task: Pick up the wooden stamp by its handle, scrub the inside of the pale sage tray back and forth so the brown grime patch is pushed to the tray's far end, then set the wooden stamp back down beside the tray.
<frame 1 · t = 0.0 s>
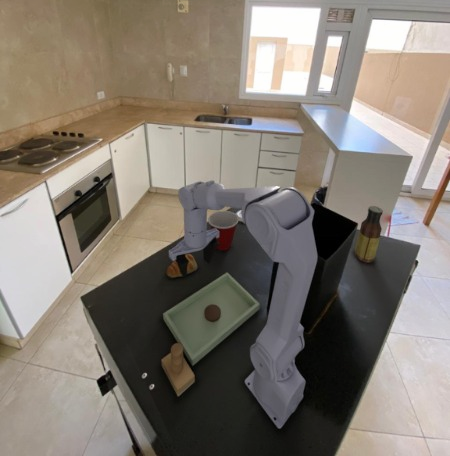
hand: (195, 267, 69), 10 cm above the table, tool pointing down, fingers open, 7 cm apart
tray: (212, 315, 67), on the table
grime patch: (212, 313, 67), resting on tray
sauce bottle: (362, 257, 89), on the table
wooden stamp: (177, 374, 54), on the table
plastic cup: (222, 245, 92), on the table
pastry: (183, 270, 81), on the table
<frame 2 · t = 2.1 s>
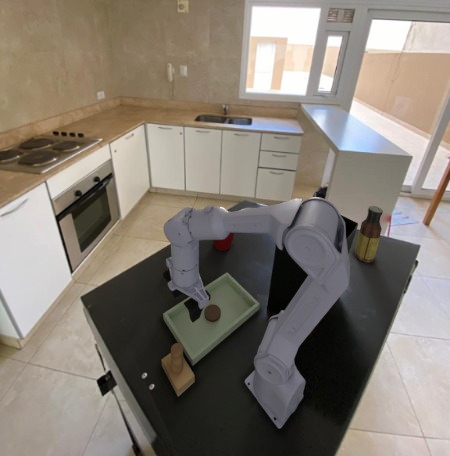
hand: (186, 306, 59), 10 cm above the table, tool pointing down, fingers open, 7 cm apart
nothing on the table moved.
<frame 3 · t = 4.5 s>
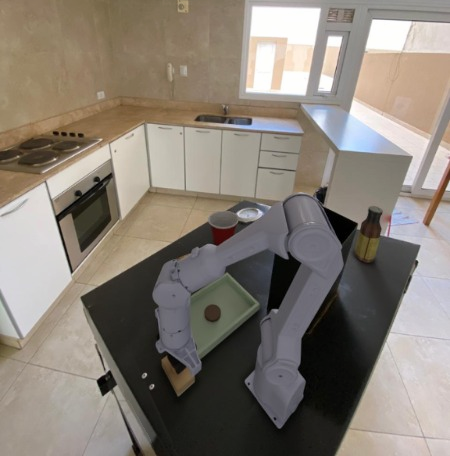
hand: (177, 363, 53), 4 cm above the table, tool pointing down, fingers closed on wooden stamp, 2 cm apart
wooden stamp: (178, 374, 54), on the table, touching gripper
everything else where it was.
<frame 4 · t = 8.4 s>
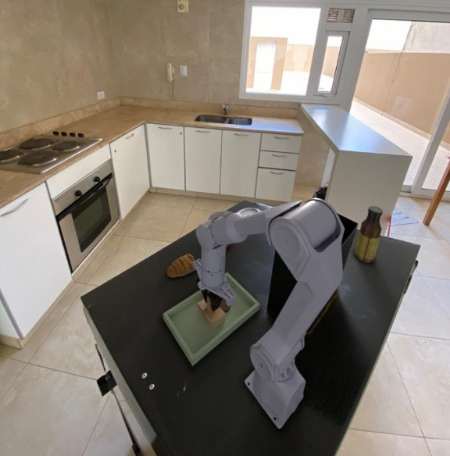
hand: (211, 304, 65), 4 cm above the table, tool pointing down, fingers closed on wooden stamp, 2 cm apart
grime patch: (222, 305, 69), point 1 cm above the table, touching wooden stamp, tray
wooden stamp: (210, 315, 66), point 1 cm above the table, touching grime patch, gripper
everything else where it was.
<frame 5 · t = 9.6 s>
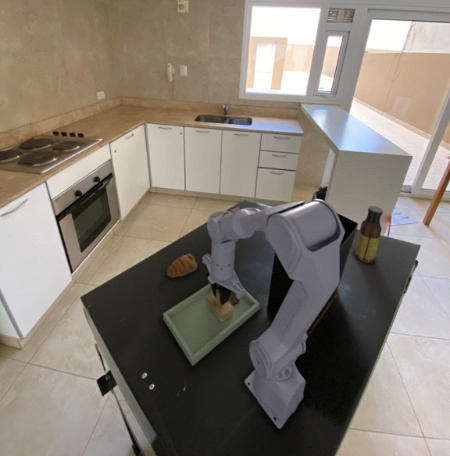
hand: (220, 298, 67), 4 cm above the table, tool pointing down, fingers closed on wooden stamp, 2 cm apart
grime patch: (232, 298, 71), resting on tray
wooden stamp: (218, 309, 68), point 1 cm above the table, touching gripper
everything else where it was.
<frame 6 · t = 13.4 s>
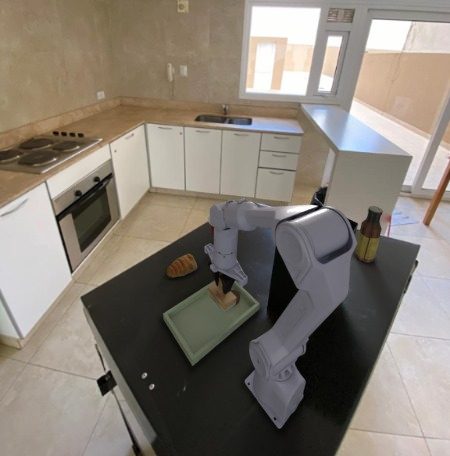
hand: (223, 287, 66), 8 cm above the table, tool pointing down, fingers closed on wooden stamp, 2 cm apart
wooden stamp: (221, 299, 67), point 4 cm above the table, touching gripper
everything else where it was.
when the fingers open (4 cm above the table, at t = 16.1 s): wooden stamp stays where it is, on the table.
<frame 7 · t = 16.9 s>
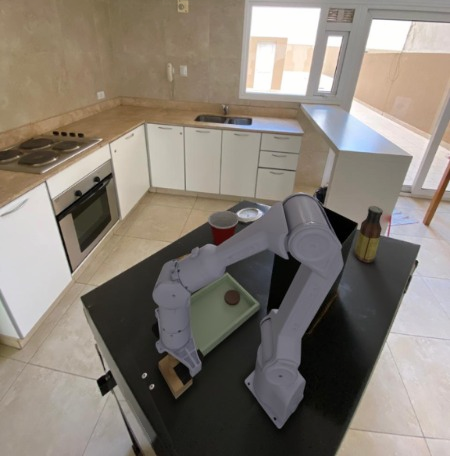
hand: (177, 363, 53), 4 cm above the table, tool pointing down, fingers open, 7 cm apart
wooden stamp: (175, 376, 54), on the table
everything else where it was.
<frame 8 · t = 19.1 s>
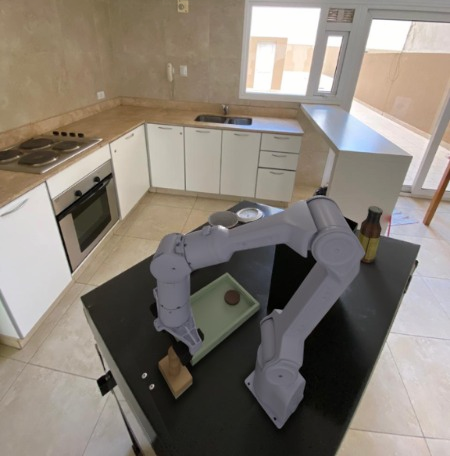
hand: (176, 344, 51), 10 cm above the table, tool pointing down, fingers open, 7 cm apart
nothing on the table moved.
at the end: grime patch inside the target area in the tray (0.3 cm from its centre), point 0.5 cm above the tray's base; wooden stamp inside the target area (0.6 cm from its centre), on the table; wooden stamp tilted 0° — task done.
